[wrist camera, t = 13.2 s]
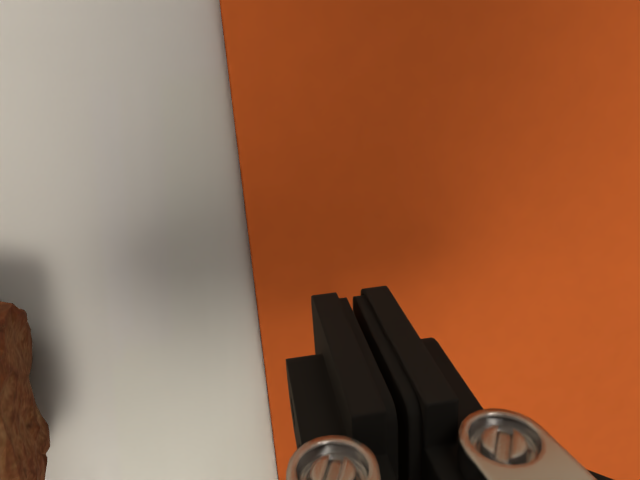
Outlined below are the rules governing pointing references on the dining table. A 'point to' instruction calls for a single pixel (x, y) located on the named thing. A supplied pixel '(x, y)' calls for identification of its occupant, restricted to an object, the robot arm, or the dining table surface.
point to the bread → (19, 402)
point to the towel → (453, 194)
